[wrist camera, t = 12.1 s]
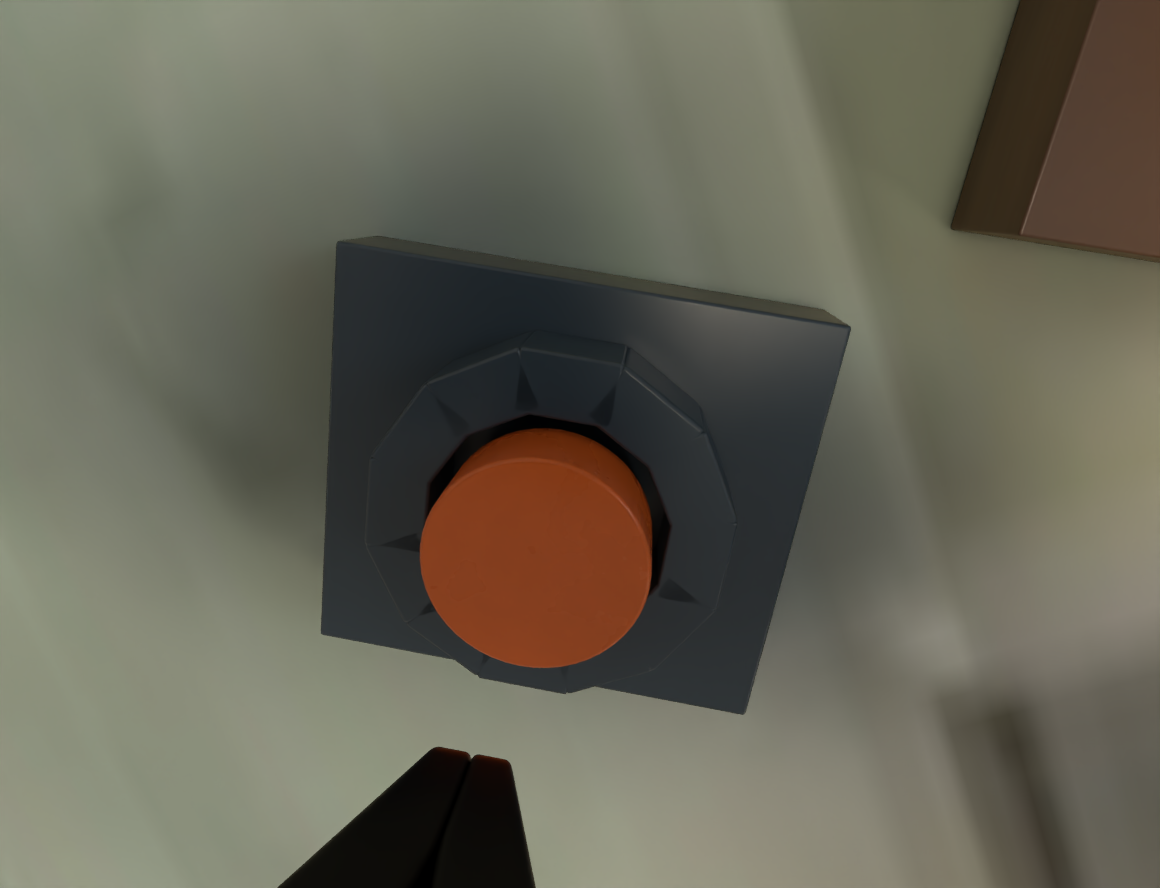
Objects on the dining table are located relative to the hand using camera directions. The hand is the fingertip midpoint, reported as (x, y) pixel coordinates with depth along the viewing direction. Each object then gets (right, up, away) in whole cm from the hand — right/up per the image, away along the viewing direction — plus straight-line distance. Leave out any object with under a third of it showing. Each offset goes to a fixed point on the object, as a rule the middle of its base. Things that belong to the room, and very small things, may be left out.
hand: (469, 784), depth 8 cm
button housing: (+1, +3, +10) cm, 10 cm away
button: (+1, +2, +6) cm, 6 cm away
